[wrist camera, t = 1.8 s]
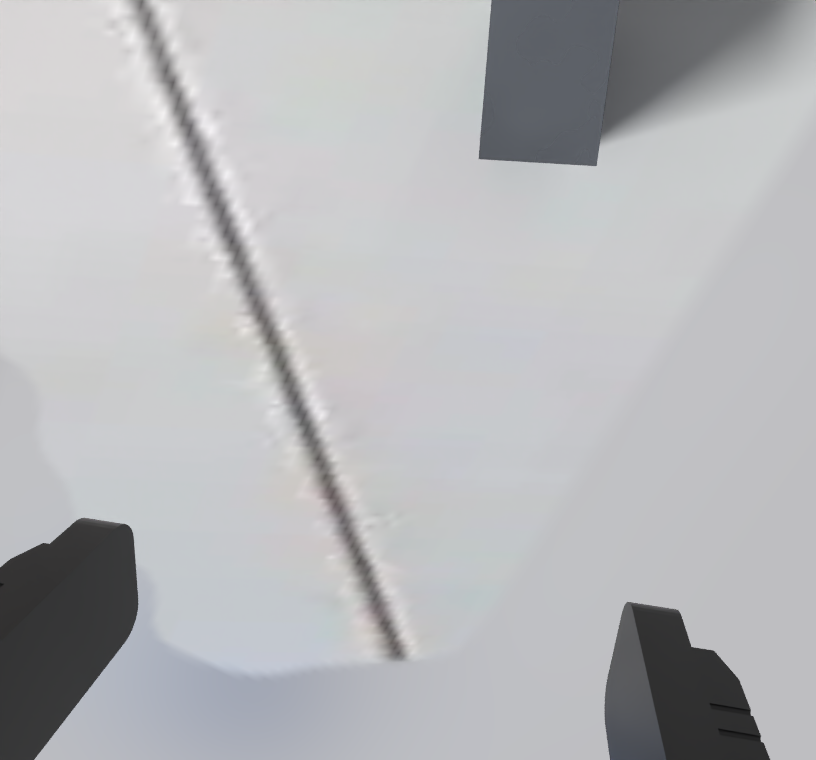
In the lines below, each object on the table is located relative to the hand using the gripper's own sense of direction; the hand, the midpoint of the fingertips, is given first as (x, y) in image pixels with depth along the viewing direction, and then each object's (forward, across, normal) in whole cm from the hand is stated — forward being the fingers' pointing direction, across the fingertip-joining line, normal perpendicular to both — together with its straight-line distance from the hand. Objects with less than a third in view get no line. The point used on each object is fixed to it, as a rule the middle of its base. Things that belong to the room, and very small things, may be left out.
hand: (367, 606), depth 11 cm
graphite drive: (+26, +2, +9) cm, 28 cm away
